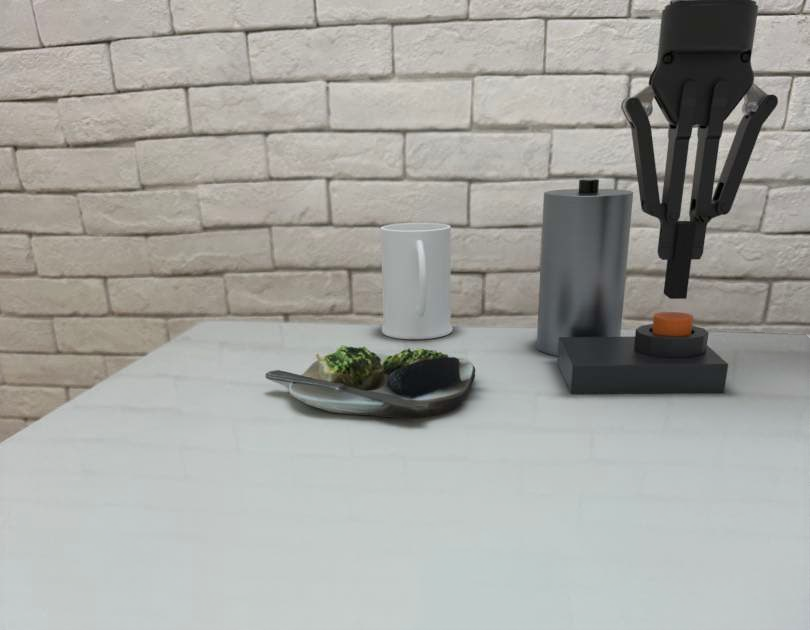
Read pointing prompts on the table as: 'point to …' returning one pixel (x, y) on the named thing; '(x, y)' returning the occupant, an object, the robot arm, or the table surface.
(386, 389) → the salad plate
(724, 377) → the dark grey button base
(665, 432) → the table surface
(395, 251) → the mug
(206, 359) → the table surface
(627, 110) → the robot arm
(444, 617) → the table surface
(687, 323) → the kettle button
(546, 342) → the grey canister
